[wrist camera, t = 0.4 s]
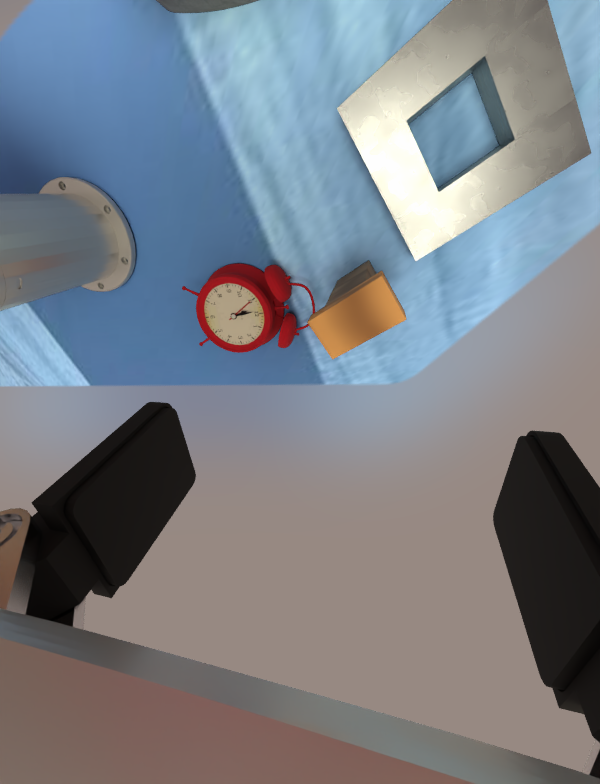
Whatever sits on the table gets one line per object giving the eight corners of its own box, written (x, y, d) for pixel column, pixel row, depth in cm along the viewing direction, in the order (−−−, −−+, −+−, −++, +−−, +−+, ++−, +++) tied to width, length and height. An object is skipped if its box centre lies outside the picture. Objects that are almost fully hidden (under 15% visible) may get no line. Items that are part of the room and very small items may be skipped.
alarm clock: (171, 275, 38) (287, 266, 31) (206, 264, 42) (312, 253, 36) (198, 358, 43) (303, 365, 36) (226, 340, 47) (323, 343, 41)
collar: (412, 254, 35) (415, 261, 31) (341, 117, 30) (336, 108, 27) (566, 157, 28) (591, 153, 25) (506, -33, 24) (527, -70, 21)
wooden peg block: (344, 316, 39) (332, 359, 29) (326, 288, 38) (307, 322, 28) (399, 284, 36) (406, 319, 26) (381, 251, 35) (381, 275, 25)
